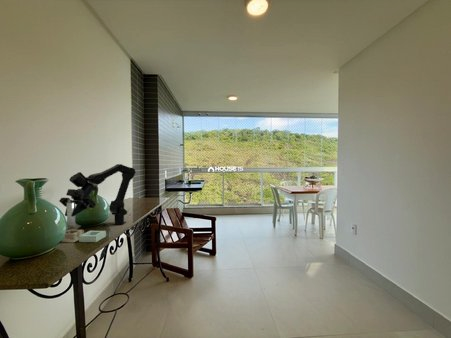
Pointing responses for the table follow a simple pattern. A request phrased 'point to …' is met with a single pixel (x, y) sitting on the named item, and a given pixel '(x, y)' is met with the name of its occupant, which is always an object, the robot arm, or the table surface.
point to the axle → (69, 212)
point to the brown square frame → (72, 235)
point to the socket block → (92, 236)
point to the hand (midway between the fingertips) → (68, 216)
